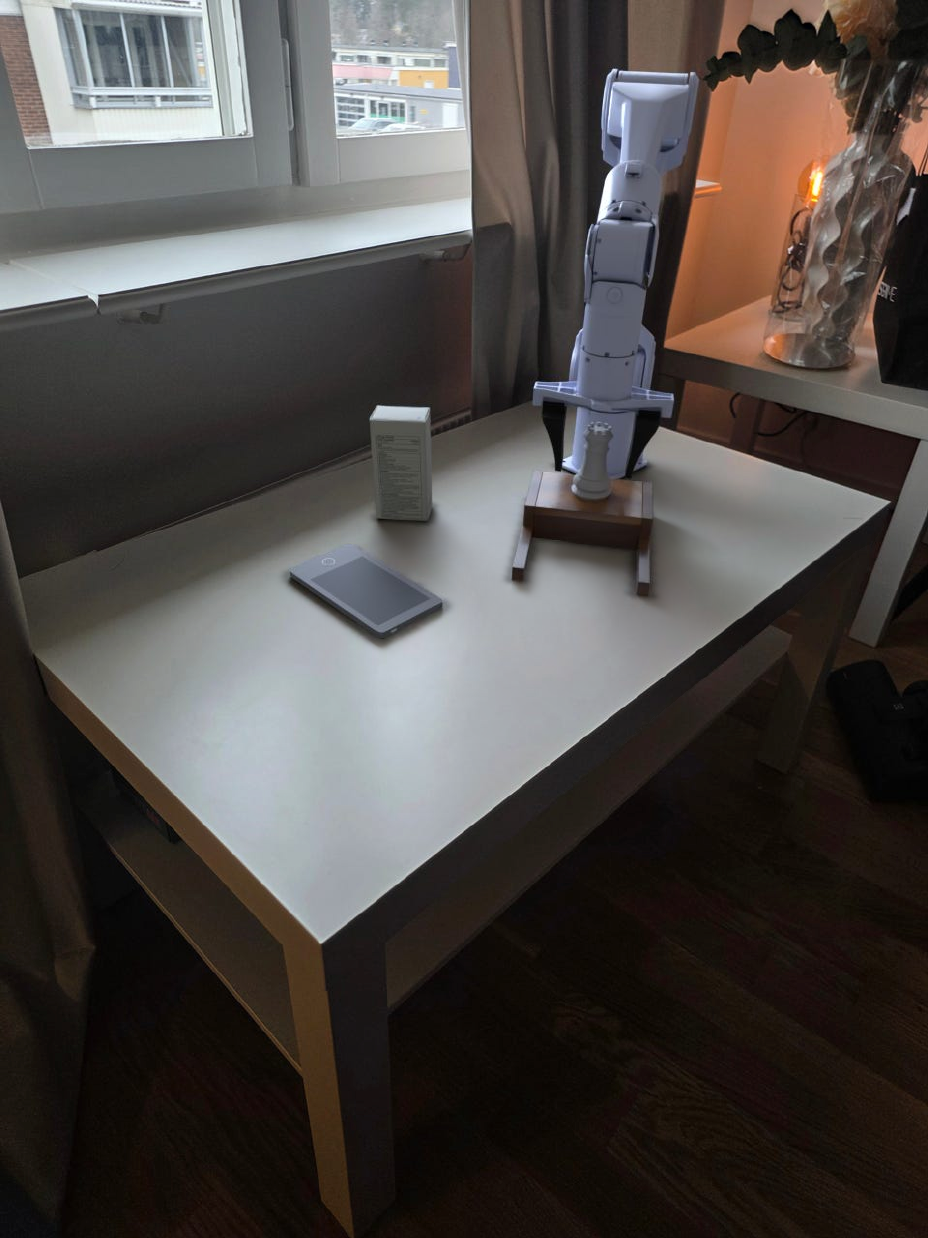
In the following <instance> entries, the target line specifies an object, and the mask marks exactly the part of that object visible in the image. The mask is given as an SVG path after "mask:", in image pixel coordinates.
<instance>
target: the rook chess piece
mask: <svg viewBox="0 0 928 1238" xmlns="http://www.w3.org/2000/svg"><path fill="white" fill-rule="evenodd" d="M583 435H584V437H585V439H586V440H587V442H586V444H585V445H584V449H585V455H584V459H583V463H582V466H581V468H580V469H579V470H578V473H577V474H576V473H575V474H574V475H575V476H574V478H573V483H574V484H573V485H572V491H573V493H574V494H575V495H576V496H577V497H578V498H580V499H583V500H587V501H601V500H603V499H605V498H606V497H607V496H608V495H609V494H610V493H611V489H610V488H609V487H610V486H611V479H610V478H609V477H608V476H609V473H608V472H607V468H606V458H607V452H608V451H609V447H608V442H609V441H610V440H611V439H612V438H613V434H612V432H611V426H609V424H607V423H605V424H604V427H603V426H601V422H597V425H596V426H594V423H593V422H592V423H589V425H588V427H587V430H586V431H584V432H583Z"/></svg>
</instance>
